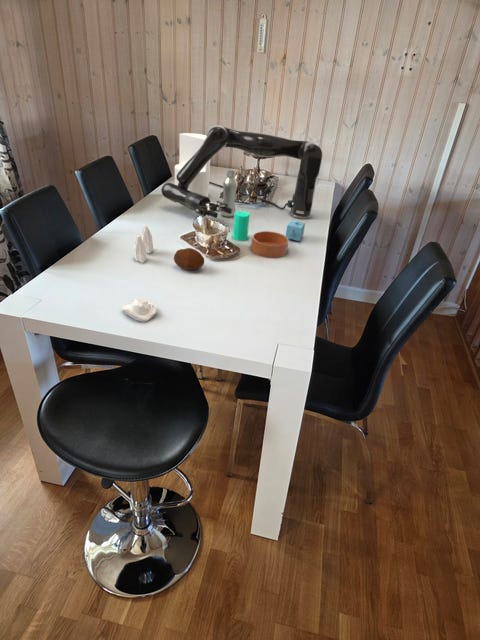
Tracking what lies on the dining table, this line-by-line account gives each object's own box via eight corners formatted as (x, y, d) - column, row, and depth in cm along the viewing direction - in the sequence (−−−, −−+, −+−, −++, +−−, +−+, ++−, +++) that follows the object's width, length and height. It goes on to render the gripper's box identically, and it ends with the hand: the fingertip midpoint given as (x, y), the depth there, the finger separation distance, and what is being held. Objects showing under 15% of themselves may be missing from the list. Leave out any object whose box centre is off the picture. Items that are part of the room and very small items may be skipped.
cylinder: (190, 188, 232) (191, 131, 216) (215, 196, 224) (218, 138, 209) (167, 194, 219) (167, 135, 204) (193, 203, 212) (195, 142, 196)
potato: (175, 261, 157) (175, 242, 153) (205, 264, 158) (206, 245, 153) (171, 272, 150) (171, 252, 146) (203, 275, 150) (203, 255, 146)
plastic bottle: (218, 216, 200) (221, 171, 189) (224, 212, 205) (227, 168, 194) (231, 219, 198) (234, 174, 187) (237, 215, 203) (240, 171, 192)
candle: (249, 236, 182) (251, 209, 176) (244, 241, 178) (247, 213, 171) (235, 233, 184) (237, 206, 177) (230, 238, 179) (233, 210, 172)
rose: (117, 308, 120) (124, 290, 128) (118, 321, 123) (125, 303, 131) (154, 310, 121) (158, 292, 129) (154, 323, 124) (158, 305, 132)
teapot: (297, 245, 179) (300, 228, 175) (283, 242, 180) (285, 225, 176) (303, 235, 189) (306, 219, 185) (289, 233, 190) (292, 216, 186)
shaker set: (145, 248, 164) (144, 220, 158) (156, 250, 164) (155, 222, 158) (132, 261, 154) (130, 232, 148) (143, 263, 154) (142, 234, 148)
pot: (244, 244, 175) (246, 233, 173) (275, 241, 181) (277, 229, 178) (261, 259, 165) (263, 247, 162) (293, 255, 171) (295, 243, 168)
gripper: (185, 197, 183) (212, 208, 175) (209, 191, 193) (236, 201, 184) (185, 214, 188) (211, 225, 179) (208, 207, 197) (235, 218, 188)
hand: (224, 213), depth 182 cm, fingers open, 8 cm apart
